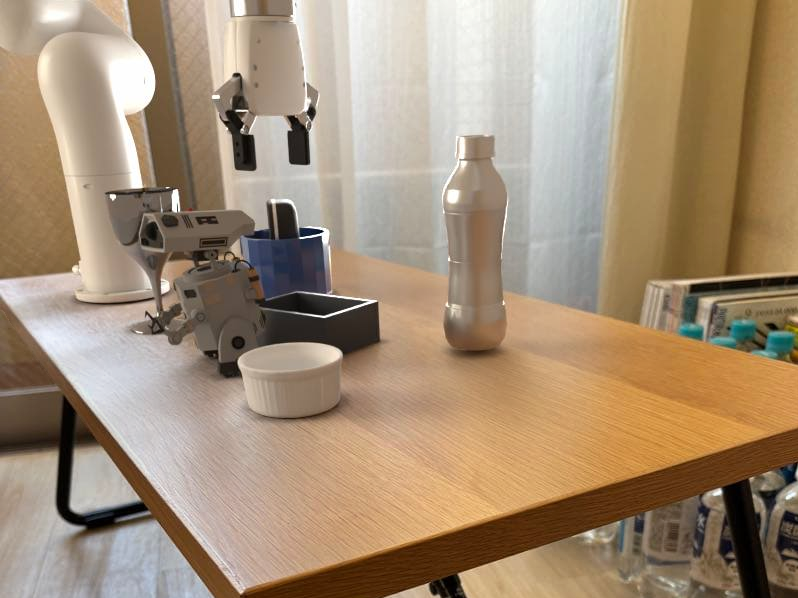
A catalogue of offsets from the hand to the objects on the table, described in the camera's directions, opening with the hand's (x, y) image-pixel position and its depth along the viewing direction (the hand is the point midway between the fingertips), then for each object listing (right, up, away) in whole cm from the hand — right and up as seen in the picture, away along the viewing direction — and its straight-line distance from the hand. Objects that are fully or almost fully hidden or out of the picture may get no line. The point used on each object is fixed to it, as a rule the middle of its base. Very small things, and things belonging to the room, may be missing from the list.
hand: (273, 167), depth 112 cm
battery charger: (+1, -14, +7) cm, 15 cm away
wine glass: (-12, -21, -6) cm, 26 cm away
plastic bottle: (+24, -27, -20) cm, 41 cm away
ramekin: (+7, -35, -34) cm, 50 cm away
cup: (+1, -14, +7) cm, 16 cm away
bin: (+7, -26, -16) cm, 31 cm away
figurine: (-3, -30, -23) cm, 38 cm away
